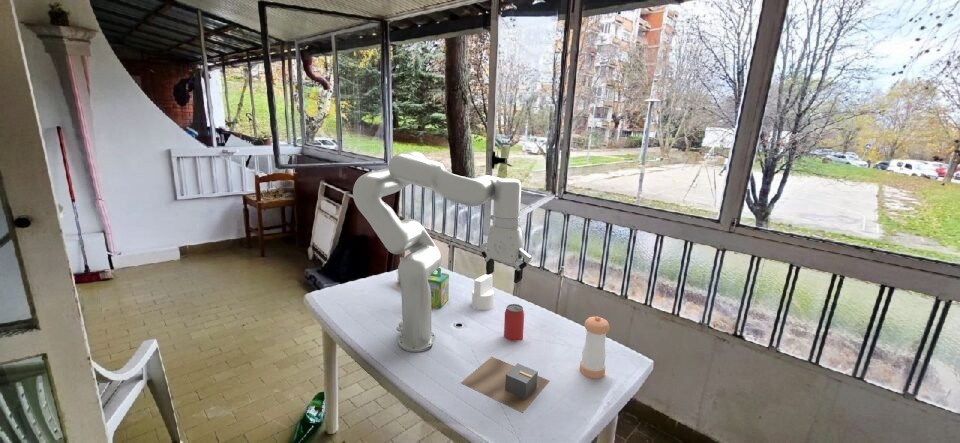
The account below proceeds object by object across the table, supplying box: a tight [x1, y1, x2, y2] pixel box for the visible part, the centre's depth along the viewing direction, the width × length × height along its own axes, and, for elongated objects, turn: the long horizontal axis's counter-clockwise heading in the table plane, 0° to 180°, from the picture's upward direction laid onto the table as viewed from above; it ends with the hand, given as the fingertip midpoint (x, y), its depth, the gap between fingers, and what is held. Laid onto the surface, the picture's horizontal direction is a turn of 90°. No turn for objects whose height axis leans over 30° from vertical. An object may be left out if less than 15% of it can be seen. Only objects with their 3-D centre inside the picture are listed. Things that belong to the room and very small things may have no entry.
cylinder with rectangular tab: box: [471, 273, 496, 311], centre depth 164 cm, size 9×9×12 cm
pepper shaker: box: [579, 316, 611, 379], centre depth 120 cm, size 7×7×19 cm
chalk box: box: [428, 267, 450, 309], centre depth 165 cm, size 9×9×15 cm
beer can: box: [503, 303, 525, 342], centre depth 139 cm, size 7×7×12 cm
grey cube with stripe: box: [505, 363, 539, 400], centre depth 113 cm, size 6×6×5 cm
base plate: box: [460, 356, 551, 414], centre depth 116 cm, size 20×16×2 cm
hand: (503, 277), depth 121 cm, fingers open, 9 cm apart
